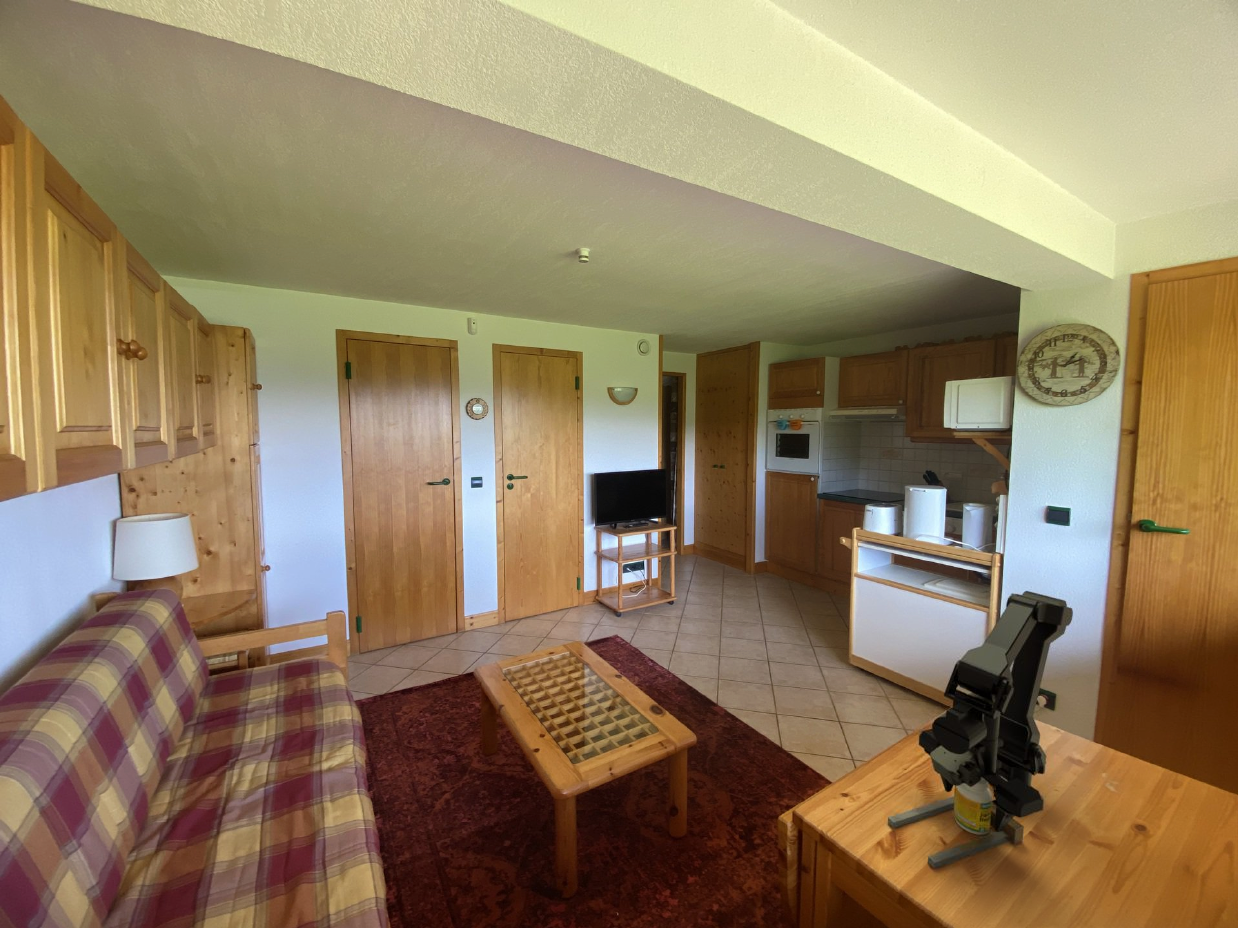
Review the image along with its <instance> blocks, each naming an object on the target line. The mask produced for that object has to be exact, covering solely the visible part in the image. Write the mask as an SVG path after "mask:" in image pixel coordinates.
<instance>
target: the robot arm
mask: <svg viewBox="0 0 1238 928" xmlns="http://www.w3.org/2000/svg"><path fill="white" fill-rule="evenodd" d="M1073 614H1074V611H1073V608H1072V607H1069V606H1068V604H1067V601H1066V600H1064V599H1061V598H1056V597H1052V596H1049V595H1046V594H1045V595H1044V594H1041V593H1037V592H1034V591H1029V590H1025V591H1024V592H1022V594H1020V593H1013V592H1012V593H1011V594H1010V595H1009V596H1008V598H1007V599H1006V605H1005V609H1004V611H1003V612H1002V614H1001V615H1000V616H999V618H998V620H997V622H996V623H995V625H994V626H993V627H992V629H991V632H990V633H989V634H988V636H987V638H986V639H985V641H984V642H983V644H982V645H981V646H976V647H974V648H971V649H969V650H968V651H967V652H966V653H965V654H964V655H963V656H962V658H961V659H959V660H957V661H956V662H955V664H954V666H953V670H952V672H951V675H950V676H949V679H948V683H947V685H946V688H945V690H944V693H943V696H944V697H945V698H948V699H949V700H951V701H952V707H950V708H949V707H948V709H946V711H945V712H944V713H942V714H941V715H939V716H938V717H936V718H935V719H934V720H933V722H932V724H931V725H932V726H931V728H929V729H928V728H927V729H924V730H921V731H920V732H919V734H918V746H920V747H921V748H923V751H924V752H925V753H926V754H927V755H928V756H929V757H930V759H931V764H932V767H933V770H934V772H935V773H937V774H939V775H940V778H941V782H942V785H943V788H944V791H945V792H946V793H950V792H952V791H953V787H955V786H959V785H961V784H963V783H965V784H967V785H968V786H969V787H973V786H974V785H975V784H977V783H978V782H979V781H980V780H981V778H983V779H985V780H986V781H988V782H989V784H990V785H991V786H993V787H994V790H993V798H994V800H993V799H992V803H993V804H994V805H995V806H996V814H995V830H994V831H995V832H1000V831H1002V830H1003V829H1004V827H1005V826H1006V825H1007V824H1008V823H1009V822H1010V820H1011V819H1012V818H1013V819H1014V817H1017V818H1021V819H1022V818H1024V817H1027V816H1029V815H1032V814H1035V813H1039V812H1041V811H1043V810H1044V798H1043V797H1044V796H1043V795H1042V794H1041V793H1040V791H1039V790H1038V789H1036V788H1035V787H1033V786H1032V777H1033V776H1036V775H1037V774H1038V775H1045V773H1046V764H1047V754H1046V752H1045V751H1044V749H1043V748H1042V746H1041V745H1040V739H1041V733H1040V731H1039V728H1038V725H1037V723H1036V721H1035V718H1034V714H1035V709H1036V705H1037V702H1038V697H1039V693H1040V688H1041V685H1042V680H1043V675H1044V672H1045V667H1046V664H1047V661H1048V660H1047V659H1048V654H1049V650H1050V647H1051V643H1053V642H1055V641H1056V640H1058V639H1059V638H1061V637H1062V636H1063V635H1065V633H1066V630H1067V627H1068V626H1070V625H1071V624H1072V621H1073V616H1074V615H1073ZM1011 666H1012V667H1011ZM958 687H960V688H961V689H963V690H965V691H968V692H970V693H966V692H965V691H961V690H959V689H957V688H958Z"/></svg>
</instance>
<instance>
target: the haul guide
mask: <svg viewBox="0 0 1238 928" xmlns="http://www.w3.org/2000/svg"><path fill="white" fill-rule="evenodd" d="M955 789H956V786H955V785H954V790H955ZM953 793H954V794H953V796H950V797H948V798H947V797H946V798H945V799H941V800H938V801H937V800H936V801H934V802H931V803H929V804H925V805H922V806H919V807H915V808H912V809H910V810H906V811H904V812H900V813H897V814H894V815H891V816H888V817H887V824H888V826H890V827H891V828H892V829H896V828H899V827H902V826H906V825H908V824H911V823H914V822H917V821H920V820H923V819H927V818H929V817H932V816H936V815H938V814H942V813H945V812H947V811H951V810H954V804H955V791H953ZM995 814H996V806H995V805H994V804H993V803H992V807H991V819H990V828H992V829H993V830H994V831H995ZM1024 829H1025V826H1024V825H1023V824H1021V823H1020V822H1018V821H1017V820H1016V819H1015V818H1014V817H1013V818H1012V819H1011V820H1010V822H1009V823H1008V824H1007V825H1006V826H1005V827H1004V829H1003V830H1002V831H1000V832H996V831H995V832H992V833H988V834H985V835H982V836H981V837H979V838H975V839H972V840H970V841H967V842H965V843H961V844H958V845H955V846H953V847H951V848H949V849H948V848H947V849H945V850H942V851H940V852H937V853H934V854H931V855H928V856H927V864H928V865H929V866H930V867H931V868H932V869H933V870H936V869H940V868H941V867H944V866H947V865H950V864H952V863H955V862H957V861H960V860H963V859H966V858H968V857H972V856H974V855H976V854H980V853H982V852H985V851H988V850H990V849H992V848H996V847H998V846H1000V845H1003V844H1007V843H1008V842H1009V843H1011V844H1012V845H1013V846H1016V845H1018V844H1022V843H1023V840H1024Z"/></svg>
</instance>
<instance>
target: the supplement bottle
mask: <svg viewBox="0 0 1238 928" xmlns="http://www.w3.org/2000/svg"><path fill="white" fill-rule="evenodd" d="M989 784H990V783H989V782H988V781H986V780H985V779H983V778H981V780H980V781H979V782H978V783H977V784H975V785H974V786H973V787H969V786H968V785H967V784H965V783H963V784H961V785H959V786H956V789H955V788H954V792H955V804H954V809H953V817H954V820H955V822H956V823H957V824H958V826H959V827H961V828H962V829H963V830H965V831H967V832H968V833H971V834H973V835H977V836H986V835H988V834H989V832H990V829H991V826H990V819H991V807H992V801H993V793H992V792H991V790H990V789H989V786H990V785H989Z"/></svg>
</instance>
